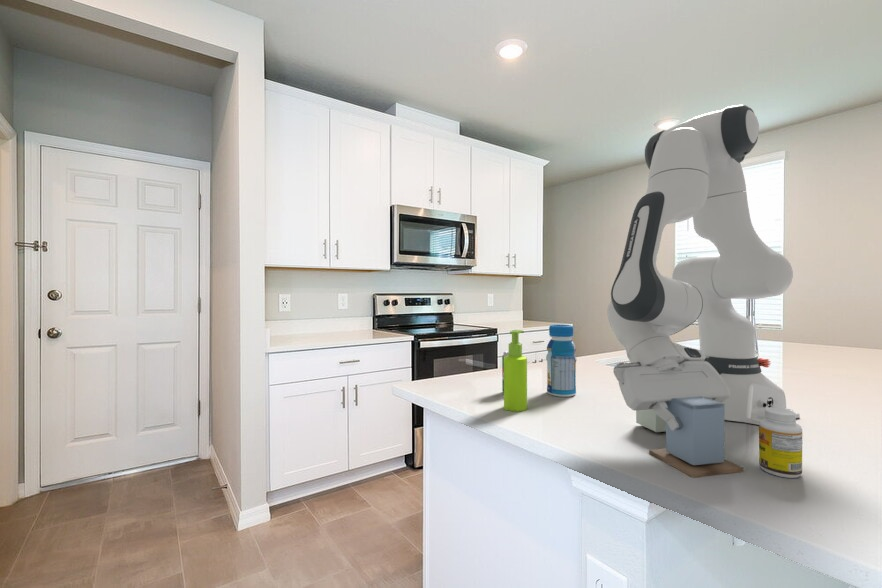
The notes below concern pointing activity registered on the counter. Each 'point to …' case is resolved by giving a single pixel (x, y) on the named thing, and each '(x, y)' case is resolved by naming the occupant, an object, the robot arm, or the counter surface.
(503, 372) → the soda can
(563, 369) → the beverage bottle
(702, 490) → the counter surface
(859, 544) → the counter surface
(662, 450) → the post
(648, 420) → the pale green block
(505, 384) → the soap dispenser
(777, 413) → the supplement bottle
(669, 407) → the pale blue tall block
